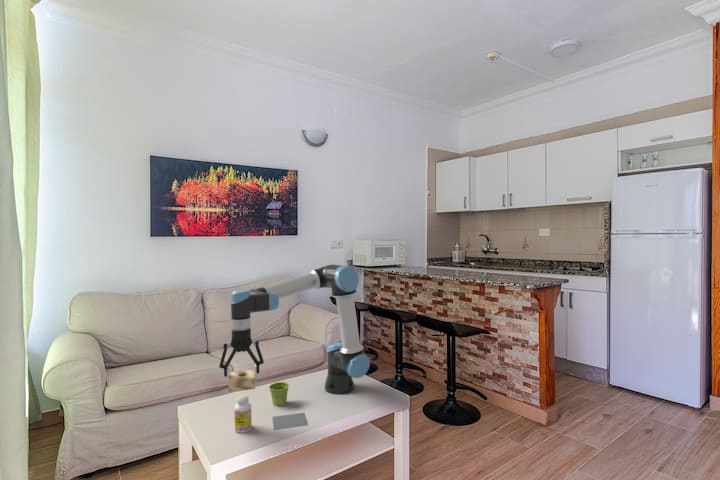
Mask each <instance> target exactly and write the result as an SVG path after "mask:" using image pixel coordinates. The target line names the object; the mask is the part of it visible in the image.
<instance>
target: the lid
mask: <svg viewBox="0 0 720 480" xmlns="http://www.w3.org/2000/svg"><path fill="white" fill-rule="evenodd" d="M255 389H256V382H255V369H248V370H239V371H229V385H228V392H229V393H231V392H239V391H240V392H241V391H249V390H250V391H251V390H255Z"/></svg>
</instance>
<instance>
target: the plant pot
mask: <svg viewBox="0 0 720 480" xmlns="http://www.w3.org/2000/svg"><path fill="white" fill-rule="evenodd" d="M289 387H290V383H288V382H286V381H280V382H278V381H277V382H273V383H272V384H270V385H269V386H268V389H269V392H270V394H271V395H270V396H271V400H272V405H273V406H274V407H282V406H285V405H287V400H288V391H289Z"/></svg>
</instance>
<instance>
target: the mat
mask: <svg viewBox="0 0 720 480" xmlns="http://www.w3.org/2000/svg"><path fill="white" fill-rule="evenodd" d="M271 417H272V424H273V425H272V426H273V431H276V430H277V431H278V430H284V429H290V428H297V427H304V426H309V423H308V419H307V416H306V413H305V412H299V413H292V414H284V415H276V416H271Z"/></svg>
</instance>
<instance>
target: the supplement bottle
mask: <svg viewBox="0 0 720 480" xmlns="http://www.w3.org/2000/svg"><path fill="white" fill-rule="evenodd" d="M249 398H250V397H249V396H247V395H243V396H238V397H237V398H236V404H235V406H234V431H235V432H237V433H247V432H248V431H250V430H251V429H252V421H253V420H252V404H251V403H250V402H249V401H250V399H249Z"/></svg>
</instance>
